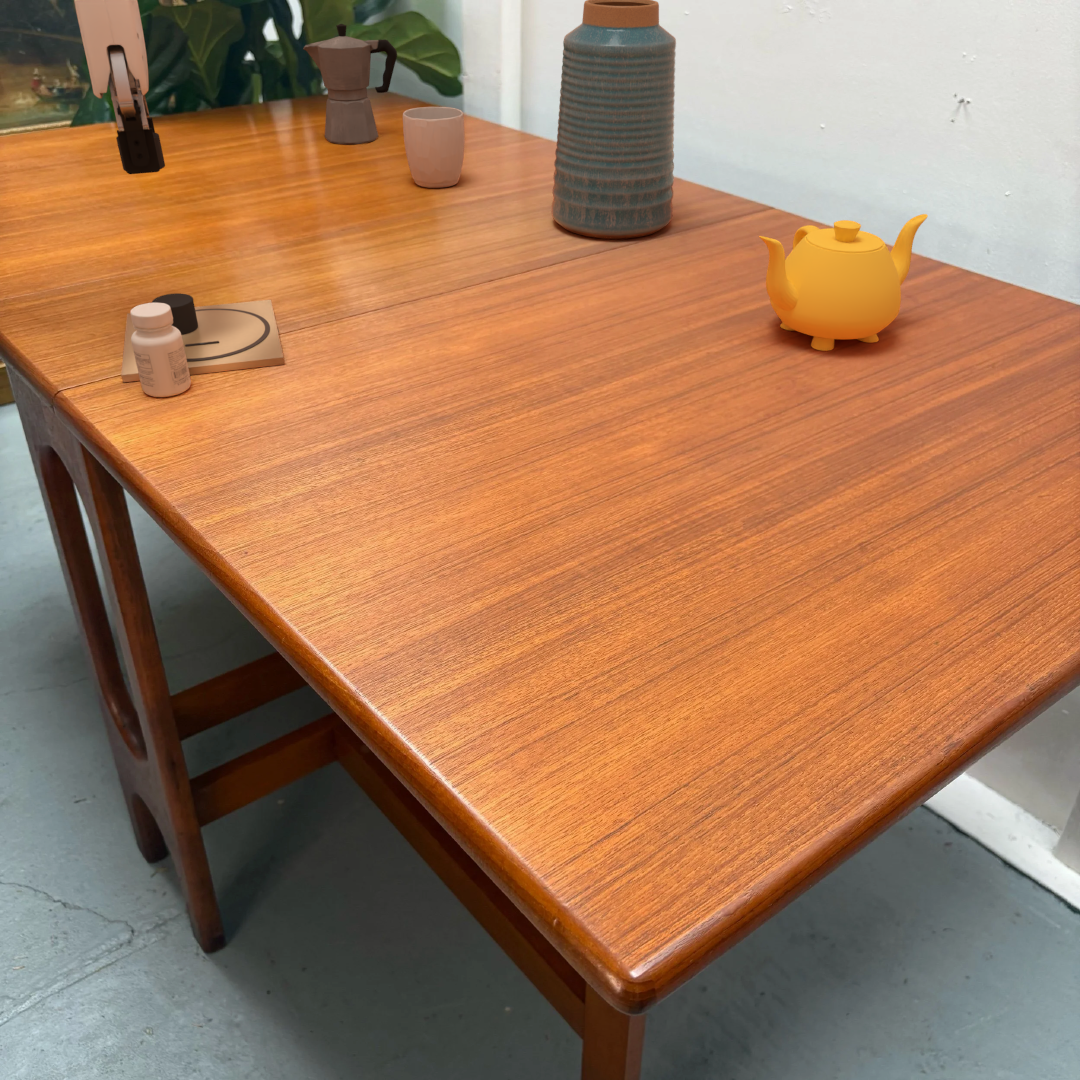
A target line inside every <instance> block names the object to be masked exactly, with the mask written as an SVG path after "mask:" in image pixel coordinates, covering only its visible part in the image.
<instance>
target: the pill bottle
mask: <svg viewBox="0 0 1080 1080" xmlns="http://www.w3.org/2000/svg"><path fill="white" fill-rule="evenodd" d="M129 313H131V318H132V323H133V327H134V328H135V329H136V331H135V332H134V333H133V334H132V337H131V343H132V347H133V351H134V356H135V360H136V365H137V369H138V373H139V377H140V381H139V382H140V385H141V389H142V391H143V392H144V393H145V394H146V395H148V396H150V397H153V398H166V397H167V398H168V397H173V396H177V395H180V394H182V393H184V392H186V391H188V390H189V389H190V387H191V385H192V379H191V375H190V374H189V369H188V364H187V359H186V354H185V350H184V345H183V340H182V335H181V332H180V331H179V330H178V329H177V328H176V327H174V326H171V325H172V324H173V316H172V312H171V308H170V306H169V305H167V304H165V303H152V302H147V303H141V304H138V305H135V306H134V307H132V308H131V309H130V312H129Z"/></svg>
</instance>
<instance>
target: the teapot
mask: <svg viewBox="0 0 1080 1080" xmlns="http://www.w3.org/2000/svg"><path fill="white" fill-rule="evenodd" d="M927 218H928V214H927V213H923V214H919V215H916V216H914V217H912V218H911V219H909V220H907V221H906V222H905V224H904V225H902V226H903V227H902V228H901V229H900V231H899V233H898V234H897V237H896V240H895V242H894V245H893V247H892V248H891V250H889V248H888V246H887V244H886V242H885V241H884V240H883V239H882V238H881V237H880V236H878V235H876V234H873V233H870V232H868V231H864V230H861V228H862V224H860V223H859V222H858V221H854V220H850V219H849V220H848V219H847V220H846V219H842V220H841V219H840V220H837V221H834V222H833V227H829V228H828V227H827V228H819V227H818V226H815V225H812V224H811V225H810V224H809V225H807V224H806V225H803V226H800V227H799V228H798V229H797V230H796V231H795V233H794V236H793V240H792V250H791V251H790V253H789V254H788V255H787V256H786V253H785V249H784V246H783V244H782V243H781V241H779V240H777V239H776V238H771V237H767V236H763V235H758V237H759V239H760V240H762V242H763V243H764V244H765V245H766V248H767V249H768V264H767V265H768V266H767V268H766V269H767V270H766V276H765V288H766V293H767V295H768V297H769V302H770V306H771V308H772V310H773V312H775V314H776V315H777V317H778V319H780V321H781V323H780V325H779V327H780V328H781V329H784V330H785V331H791V332H793V331H796V332H798V333H801V334H804V335H808V336H811V337H812V340H811V343H810V347H811V348H812V349H814V350H817V351H821V352H822V351H823V352H825V351H826V352H827V351H832V350H833V349H834V348H835V340H858V341H859V342H863V343H868V344H869V343H877V342H878V341H879V340H880V338H879V337H878V333H880V332H881V331H883V330H884V329H885V328H887V327H888V326H889V325H890V324H892V322H893V321H895V319H896V318H897V317H898V315H899V314H900V310H901V303H902V289H901V288H902V287H901V286H902V285H903V283H904V282H905V280H906V279H907V277H908V275H909V271H910V267H911V260H912V252H913V244H914V240H915V238H916V237H915V236H916V234H917V232H918V230H919V228H920V227H921V225H922V224H923V223H924V222H925V221H926V220H927Z"/></svg>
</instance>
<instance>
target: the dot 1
mask: <svg viewBox="0 0 1080 1080" xmlns="http://www.w3.org/2000/svg"><path fill="white" fill-rule="evenodd" d="M153 135H154V140H155V144H156V149H157V154H158V159H159V164H160V170H162V169H164V168H165V167H166V162H165V158H164V153H163V147H162V143H161V138H160V135H159V133H157V132H155V133H154V132H153ZM116 144H117V147H118V148H117V149H118V152H119V157H120V160H121V165H122V169H123V171H125V172H126V169H125V165H124V161H123V156H122V152H121V147H120V143H119V139H118V136H116Z"/></svg>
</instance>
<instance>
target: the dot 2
mask: <svg viewBox="0 0 1080 1080" xmlns="http://www.w3.org/2000/svg"><path fill="white" fill-rule="evenodd" d="M151 303H165V304H167V305H169V306H170V308H171V312H172V316H173V324H172V325H171V326H174V327H176V328H177V329H178V330H179V331H180V332H181V335H184V334H188V333H191V332H193V331H195V330H196V329H197V328H198V322H197V316H196V311H195V307H196V305H195V301H194V297H193V296H192V295H190V294H187V293H178V292H176V293H175V292H174V293H167V294H162V295H160V296H157V297H155V298H154V299H152V301H151Z"/></svg>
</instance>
